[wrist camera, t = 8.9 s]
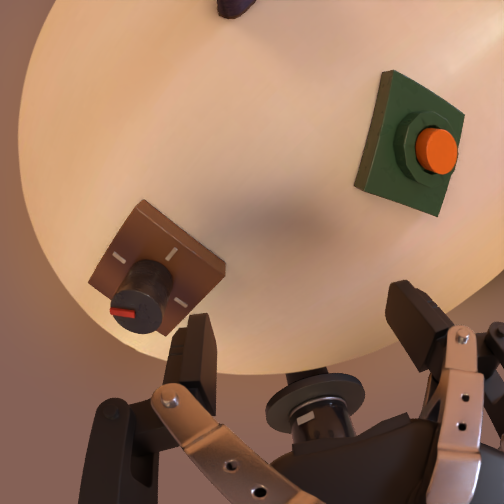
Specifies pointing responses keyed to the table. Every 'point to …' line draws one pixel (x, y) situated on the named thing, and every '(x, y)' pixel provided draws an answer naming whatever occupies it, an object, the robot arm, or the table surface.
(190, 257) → the panel
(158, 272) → the knob
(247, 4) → the flask
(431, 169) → the button
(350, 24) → the table surface
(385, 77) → the button box
